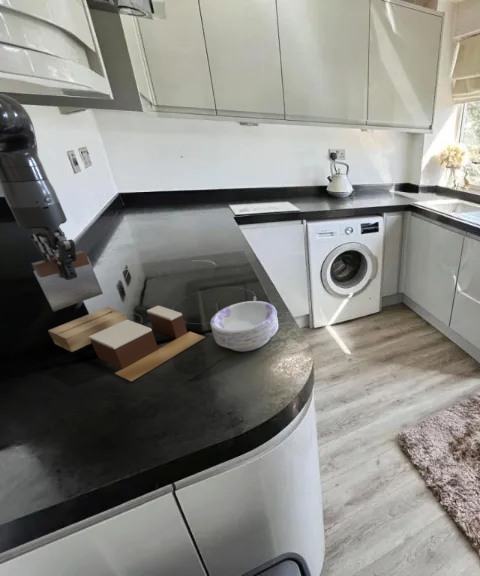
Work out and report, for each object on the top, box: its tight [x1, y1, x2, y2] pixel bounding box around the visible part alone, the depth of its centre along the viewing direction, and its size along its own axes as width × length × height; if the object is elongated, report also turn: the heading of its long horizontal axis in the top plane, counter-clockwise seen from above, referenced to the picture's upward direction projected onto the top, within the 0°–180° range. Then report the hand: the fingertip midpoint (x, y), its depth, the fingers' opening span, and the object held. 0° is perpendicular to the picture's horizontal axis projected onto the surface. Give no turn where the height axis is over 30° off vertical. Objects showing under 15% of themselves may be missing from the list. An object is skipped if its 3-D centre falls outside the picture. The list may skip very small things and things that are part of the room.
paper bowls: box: [209, 300, 279, 352], centre depth 81 cm, size 15×15×8 cm
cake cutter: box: [31, 250, 103, 312], centre depth 75 cm, size 10×2×12 cm, turn 156°
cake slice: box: [146, 305, 188, 339], centre depth 83 cm, size 9×3×6 cm, turn 66°
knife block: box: [47, 306, 128, 353], centre depth 82 cm, size 13×7×5 cm, turn 156°
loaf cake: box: [89, 319, 159, 370], centre depth 74 cm, size 9×8×6 cm
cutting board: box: [114, 331, 206, 382], centre depth 79 cm, size 20×18×1 cm
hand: (68, 277), depth 75 cm, fingers closed on cake cutter, 2 cm apart
